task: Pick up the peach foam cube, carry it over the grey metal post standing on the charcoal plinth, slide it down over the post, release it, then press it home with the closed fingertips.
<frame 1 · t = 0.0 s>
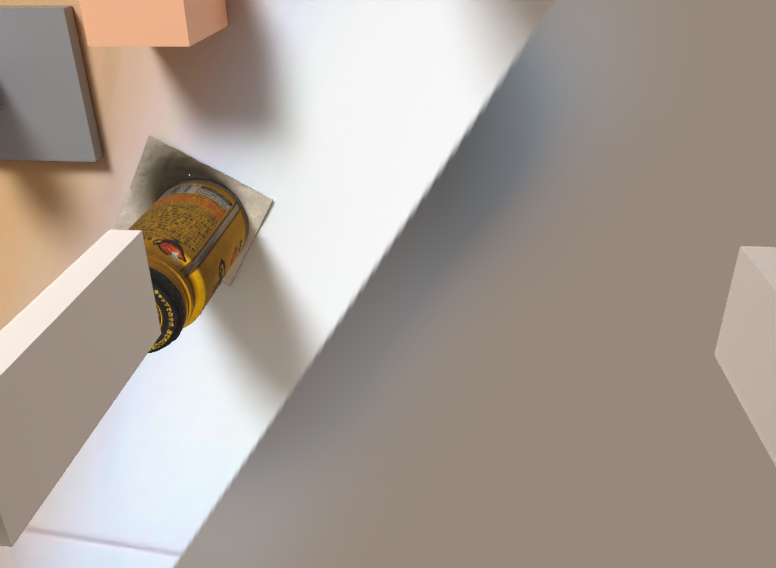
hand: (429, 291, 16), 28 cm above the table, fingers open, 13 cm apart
plinth: (2, 84, 44), on the table
condiment: (194, 211, 47), on the table
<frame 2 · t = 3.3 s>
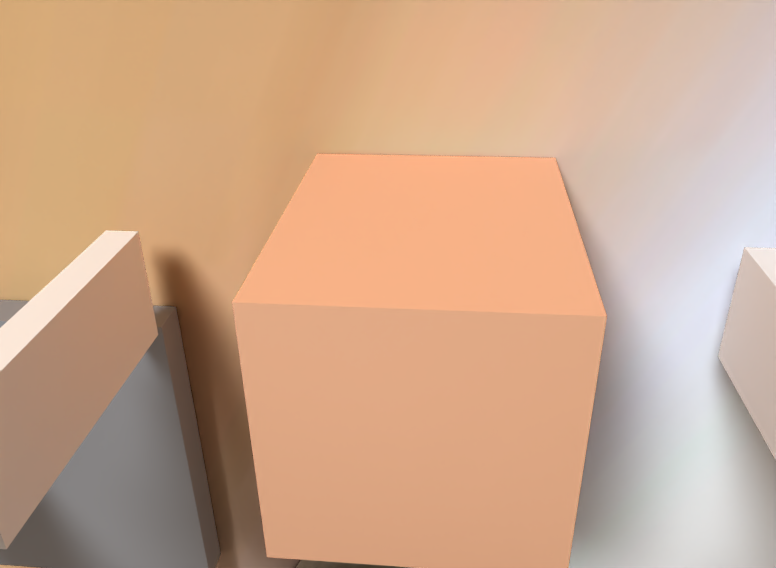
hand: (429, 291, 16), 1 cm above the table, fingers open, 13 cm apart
plinth: (17, 432, 21), on the table
peach foam cube: (432, 261, 17), on the table
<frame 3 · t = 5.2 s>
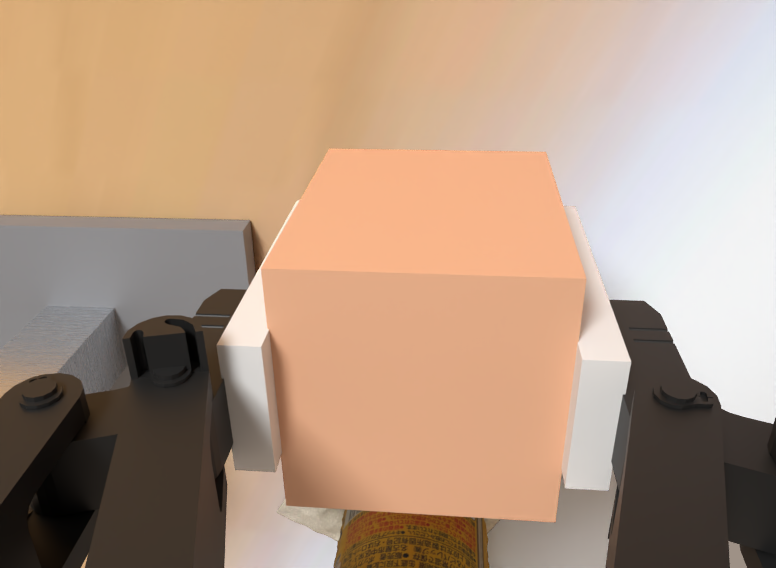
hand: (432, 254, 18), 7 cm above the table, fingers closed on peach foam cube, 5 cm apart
plinth: (123, 324, 28), on the table
post: (99, 323, 28), resting on plinth
condiment: (399, 493, 31), on the table
peach foam cube: (434, 248, 18), point 7 cm above the table, touching gripper
when the fingers open (2 cm above the table, at t = 9.0 s): peach foam cube stays where it is, resting on post.
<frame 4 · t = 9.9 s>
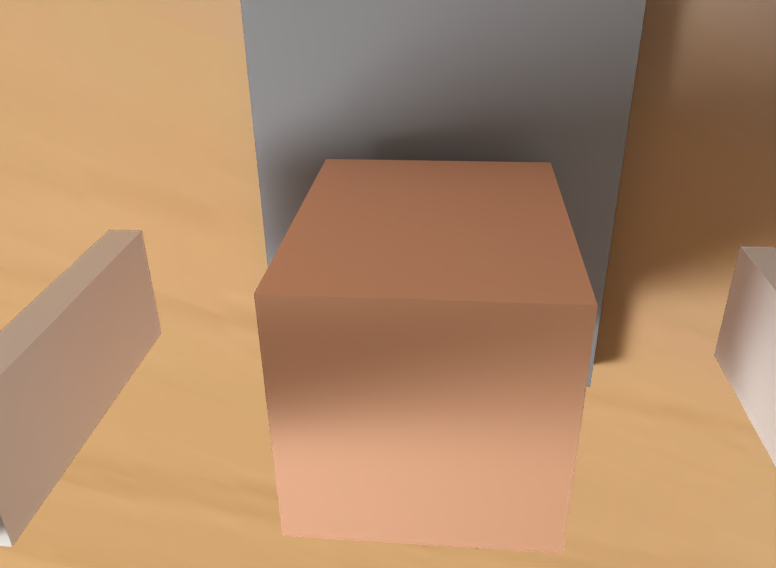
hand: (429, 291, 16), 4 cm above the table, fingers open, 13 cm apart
plinth: (436, 188, 19), on the table
peach foam cube: (435, 261, 18), point 2 cm above the table, touching post
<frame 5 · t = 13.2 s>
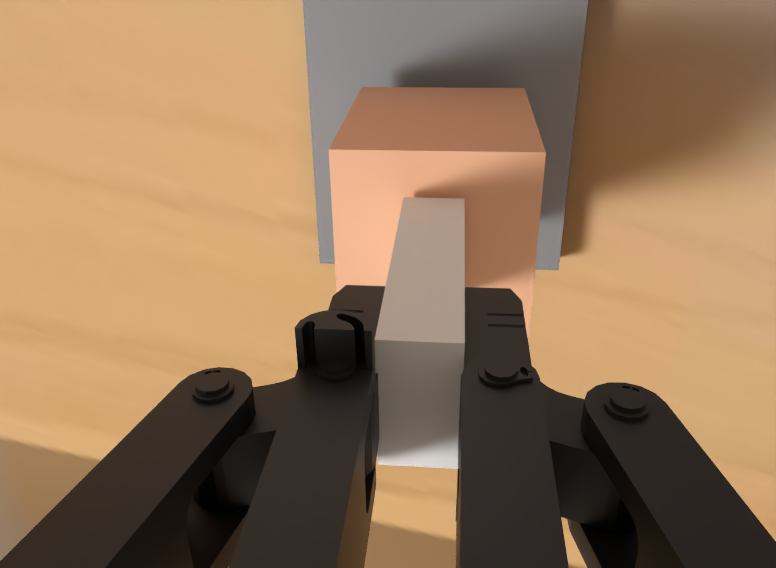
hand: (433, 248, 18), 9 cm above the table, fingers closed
plinth: (441, 115, 25), on the table
peach foam cube: (440, 165, 24), point 2 cm above the table, touching gripper, post
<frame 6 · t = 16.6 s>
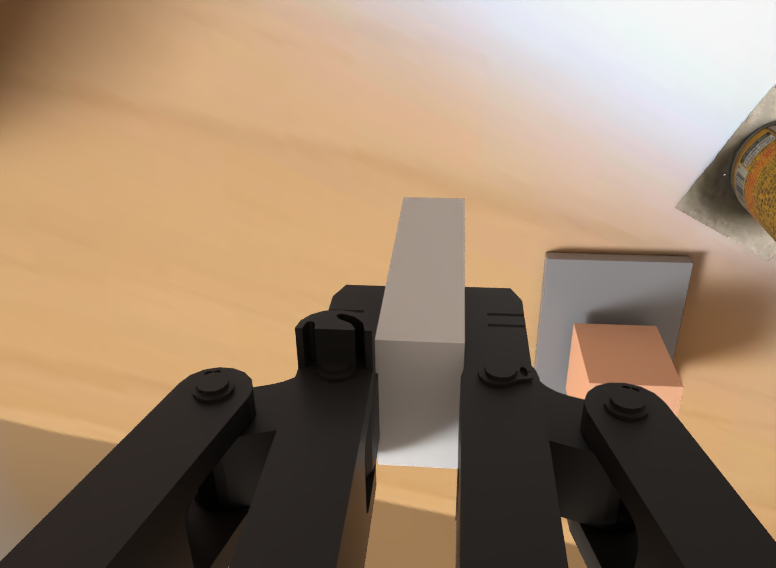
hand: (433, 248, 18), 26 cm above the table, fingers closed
plinth: (605, 327, 49), on the table
condiment: (767, 176, 43), on the table
peach foam cube: (609, 358, 48), point 2 cm above the table, touching post
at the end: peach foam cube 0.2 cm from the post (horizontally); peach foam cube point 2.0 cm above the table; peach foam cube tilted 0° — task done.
